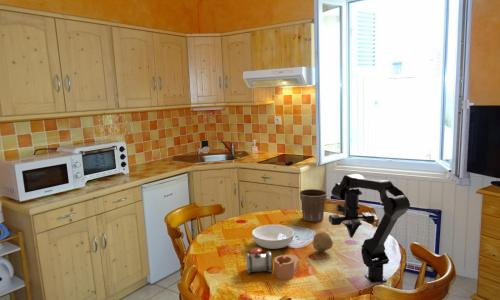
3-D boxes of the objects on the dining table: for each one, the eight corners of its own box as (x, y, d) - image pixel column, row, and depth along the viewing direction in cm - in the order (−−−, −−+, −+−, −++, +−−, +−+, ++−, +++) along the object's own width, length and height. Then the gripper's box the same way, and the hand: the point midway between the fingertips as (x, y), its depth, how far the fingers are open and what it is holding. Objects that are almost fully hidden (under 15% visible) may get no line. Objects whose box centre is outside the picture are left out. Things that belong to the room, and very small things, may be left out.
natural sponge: (335, 250, 175) (335, 230, 173) (328, 257, 168) (328, 237, 166) (317, 246, 180) (317, 227, 178) (310, 253, 173) (309, 233, 171)
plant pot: (311, 212, 230) (311, 187, 227) (332, 218, 218) (332, 192, 215) (293, 218, 220) (293, 192, 217) (314, 225, 207) (314, 198, 205)
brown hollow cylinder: (292, 281, 149) (291, 265, 148) (272, 278, 151) (271, 263, 150) (300, 261, 166) (300, 246, 164) (282, 259, 168) (281, 245, 167)
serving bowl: (289, 256, 171) (288, 242, 170) (246, 251, 178) (246, 237, 176) (298, 238, 190) (297, 226, 189) (259, 234, 197) (259, 222, 196)
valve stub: (270, 266, 162) (269, 244, 161) (273, 275, 154) (272, 253, 152) (246, 268, 161) (245, 246, 160) (248, 277, 153) (247, 255, 151)
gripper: (365, 196, 166) (364, 229, 168) (324, 198, 164) (324, 231, 167) (375, 203, 155) (374, 238, 157) (332, 206, 153) (332, 241, 156)
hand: (351, 237), depth 160 cm, fingers closed
